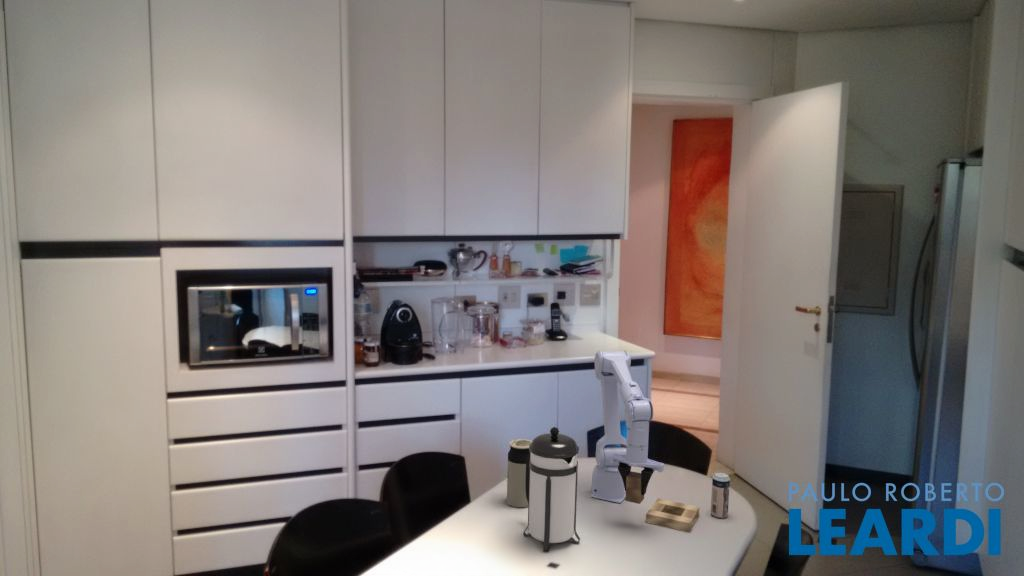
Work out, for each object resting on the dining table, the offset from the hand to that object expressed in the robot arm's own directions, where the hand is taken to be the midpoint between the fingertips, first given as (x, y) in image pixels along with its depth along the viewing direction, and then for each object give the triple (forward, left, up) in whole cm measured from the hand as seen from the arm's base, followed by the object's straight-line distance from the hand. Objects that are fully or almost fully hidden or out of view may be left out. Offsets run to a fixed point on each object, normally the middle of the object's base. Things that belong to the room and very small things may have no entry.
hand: (635, 492), depth 185 cm
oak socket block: (+8, +9, -9) cm, 16 cm away
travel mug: (-34, -3, -10) cm, 35 cm away
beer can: (+19, +18, -10) cm, 28 cm away
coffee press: (-18, -19, -10) cm, 27 cm away
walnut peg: (0, 0, -2) cm, 2 cm away
